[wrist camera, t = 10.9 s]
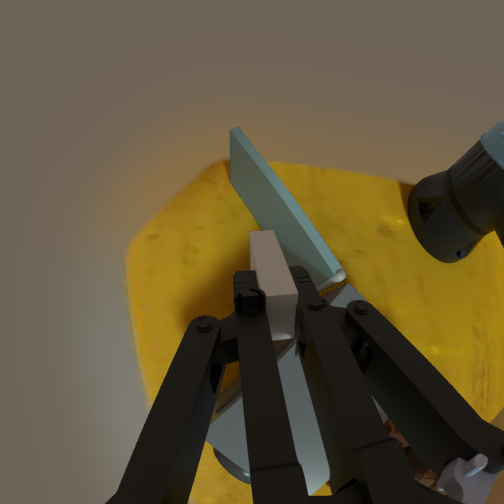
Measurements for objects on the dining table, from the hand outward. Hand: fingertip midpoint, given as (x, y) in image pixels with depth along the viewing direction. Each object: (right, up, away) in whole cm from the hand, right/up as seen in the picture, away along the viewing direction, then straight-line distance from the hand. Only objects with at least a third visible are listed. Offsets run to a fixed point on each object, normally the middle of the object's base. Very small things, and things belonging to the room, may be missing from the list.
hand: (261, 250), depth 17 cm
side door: (+2, +2, +18) cm, 18 cm away
